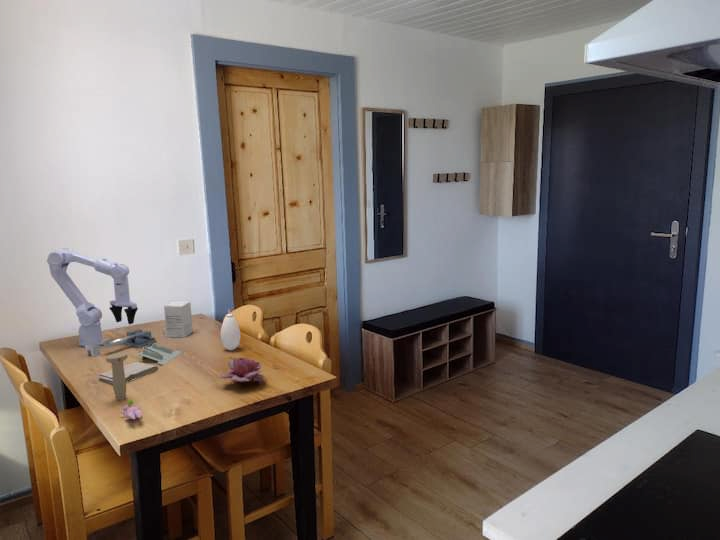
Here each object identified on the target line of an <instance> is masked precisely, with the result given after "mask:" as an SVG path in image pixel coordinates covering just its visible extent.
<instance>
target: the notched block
mask: <svg viewBox="0 0 720 540" xmlns="http://www.w3.org/2000/svg"><path fill="white" fill-rule="evenodd" d="M100 346H101V345H99V344H95V343H88V344H85V346H84V349H85V350H84V351H85V356H91V357H93V358H95V357H98V355H99V356H101V347H100Z"/></svg>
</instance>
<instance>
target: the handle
mask: <svg viewBox="0 0 720 540" xmlns="http://www.w3.org/2000/svg"><path fill="white" fill-rule="evenodd" d="M127 359H128V353H127V352H117V353H112V354H109V355H107V356H105V361H106V362H107V363H109V364H111V368H112V369H111V370H112V374H113V385H112V387H113V393H114V395H115V396H114V397H115V400H116V401H123V400H125V399H126V398H127V394H126V393H127V383H126V379H125V373H124V367H123V366H124V361H126V360H127Z"/></svg>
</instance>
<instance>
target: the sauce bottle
mask: <svg viewBox="0 0 720 540" xmlns="http://www.w3.org/2000/svg"><path fill="white" fill-rule="evenodd" d="M220 339H221V343H222V345H223V347H224V348H225V349H227V350H229V351H234V350H236V348H237V347H238V346H239V344H240V342H241V330H240V326H239V324H238V321H237V320H236V318H235V317H234V316H233V314H232V313H231V312H230V310H228V313H227V314H226V315H225V318H224V319H223V321H222V325H221V328H220Z"/></svg>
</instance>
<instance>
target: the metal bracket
mask: <svg viewBox="0 0 720 540" xmlns="http://www.w3.org/2000/svg"><path fill="white" fill-rule="evenodd" d="M180 353H182V354H183V352H182V351H179V350H176V349H175V350H173V349H172V348H169V347H166V346H163V345H161V346H160V345H158V344H157V343H156V344H153V345H150V346H148V347H144V348H143V350H142V351H141V352H139V353H138V354H137V355H138V356H141V359H142V358H144V357H145V358H147V359H150V360H153V361H156V364H158V365H160V366H163V365H164V364H165V363H167V362H168V363H169V361H170V360H171V361H172V359H173V358H174V359H176V358H177V357H178V356H177V355H179V354H180ZM180 355H181V354H180ZM180 355H179V356H180ZM176 356H177V357H176ZM145 358H144V359H145ZM174 359H173V360H174ZM171 361H170V362H171ZM168 363H167V364H168ZM164 366H165V365H164Z"/></svg>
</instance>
